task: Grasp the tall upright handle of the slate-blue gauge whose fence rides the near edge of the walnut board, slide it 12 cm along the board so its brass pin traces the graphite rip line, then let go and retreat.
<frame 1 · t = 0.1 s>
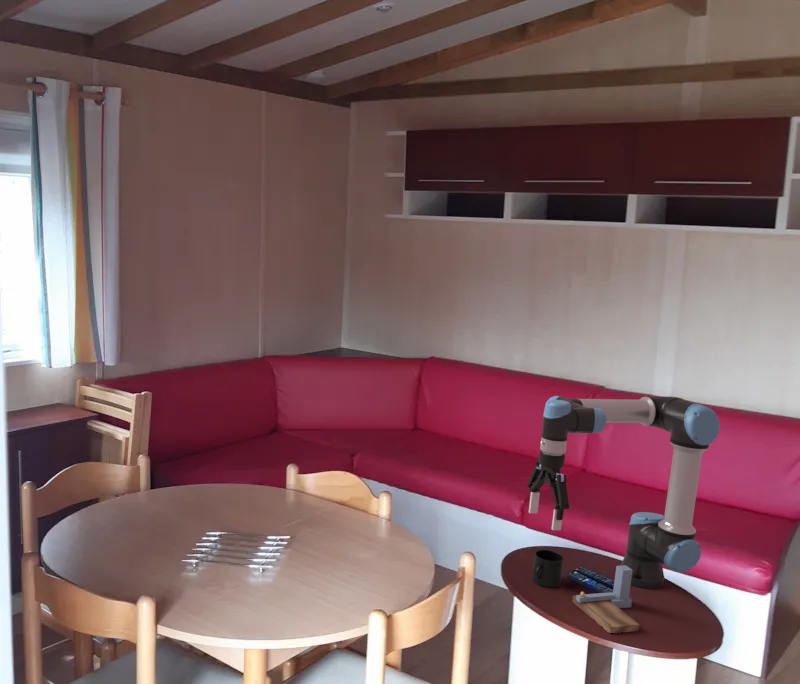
hand: (544, 521, 231), 28 cm above the table, fingers open, 13 cm apart
board: (604, 615, 235), on the table
mug: (544, 583, 255), on the table
gauge: (604, 587, 241), point 6 cm above the table, slide at 0.0 cm
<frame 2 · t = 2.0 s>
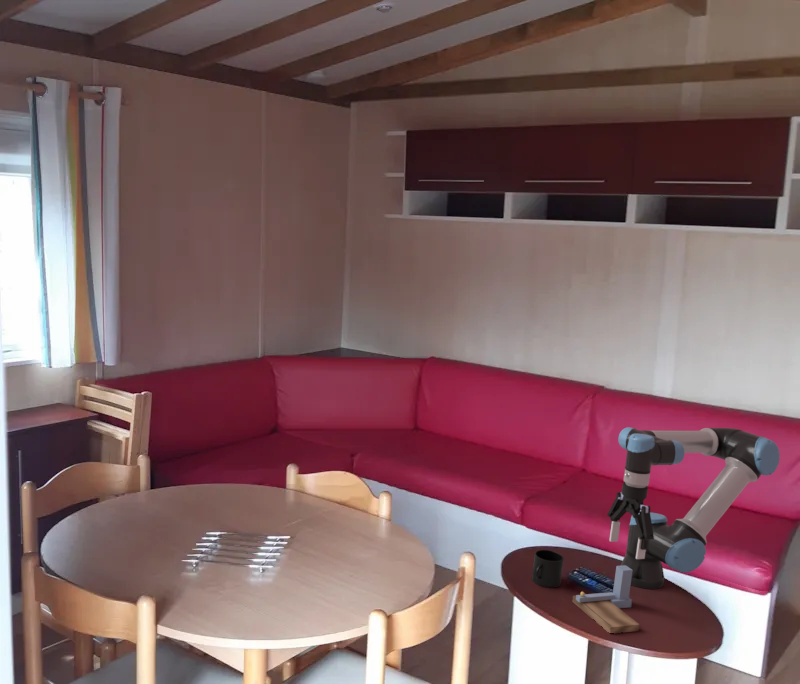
hand: (626, 549, 241), 18 cm above the table, fingers open, 13 cm apart
nothing on the table moved.
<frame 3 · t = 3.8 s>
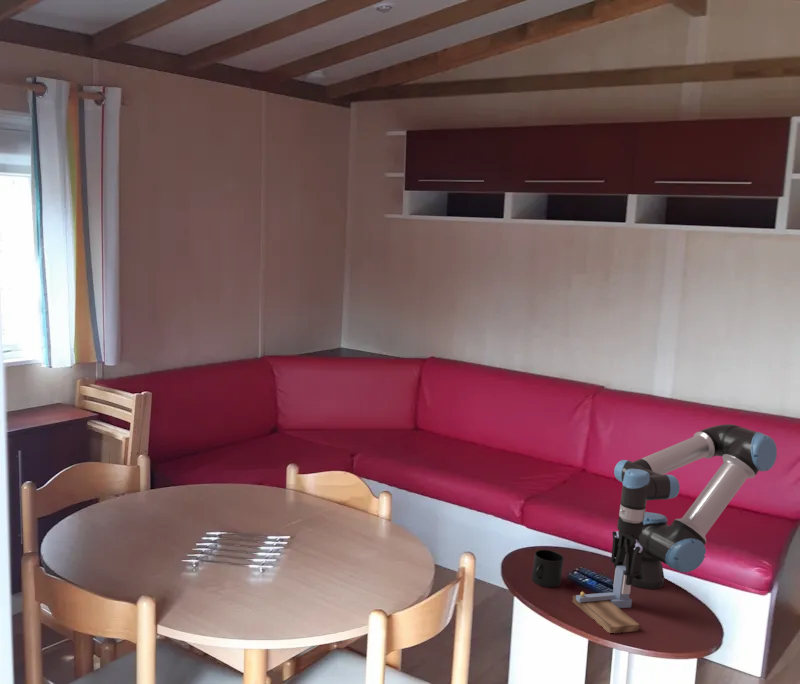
hand: (621, 590, 243), 5 cm above the table, fingers closed on gauge, 3 cm apart
gauge: (604, 587, 241), point 6 cm above the table, slide at 0.0 cm, touching gripper
everything else where it was.
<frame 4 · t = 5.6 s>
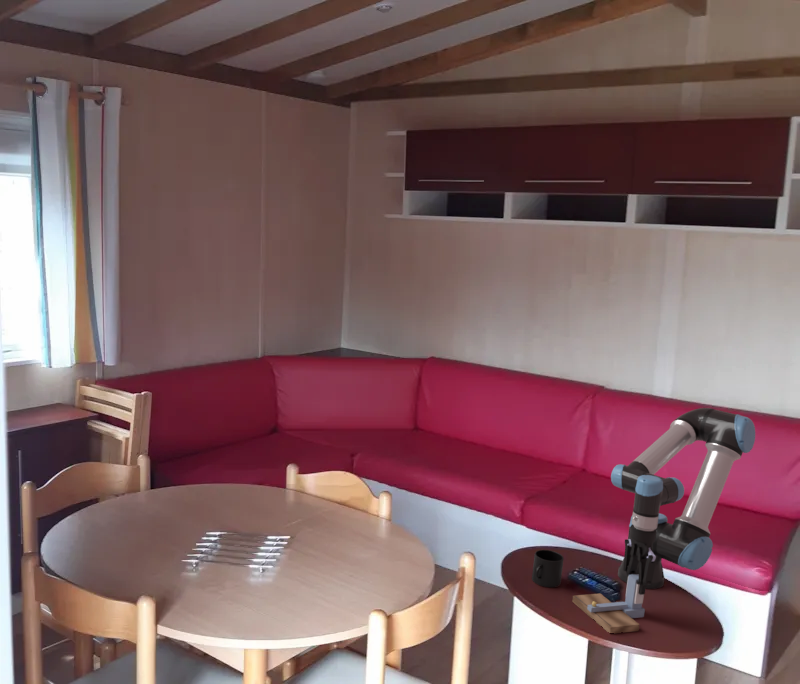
hand: (633, 599, 237), 5 cm above the table, fingers closed on gauge, 4 cm apart
gauge: (616, 596, 235), point 6 cm above the table, slide at 6.4 cm, touching gripper
everything else where it was.
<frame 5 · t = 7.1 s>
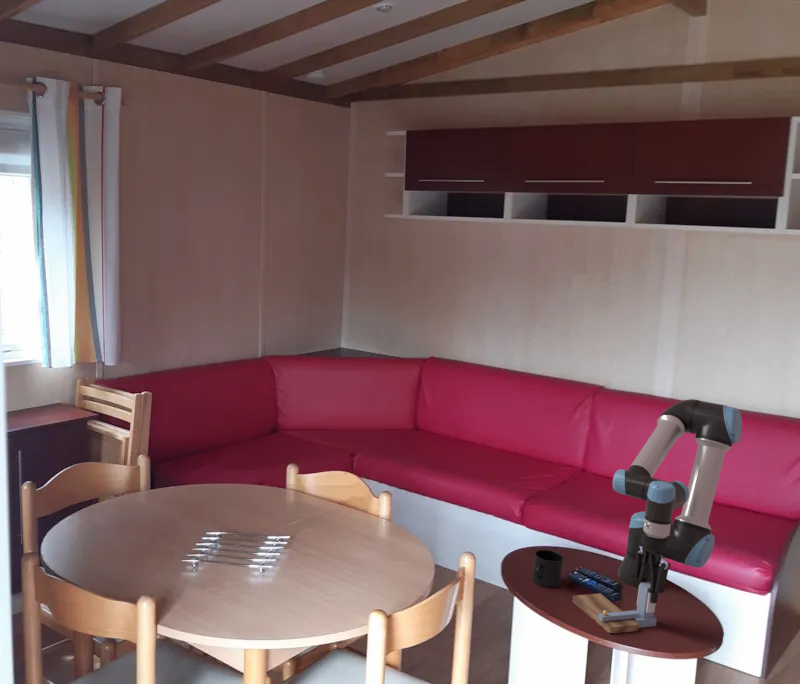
hand: (645, 608, 232), 5 cm above the table, fingers closed on gauge, 3 cm apart
gauge: (627, 605, 230), point 6 cm above the table, slide at 12.0 cm, touching gripper
everything else where it was.
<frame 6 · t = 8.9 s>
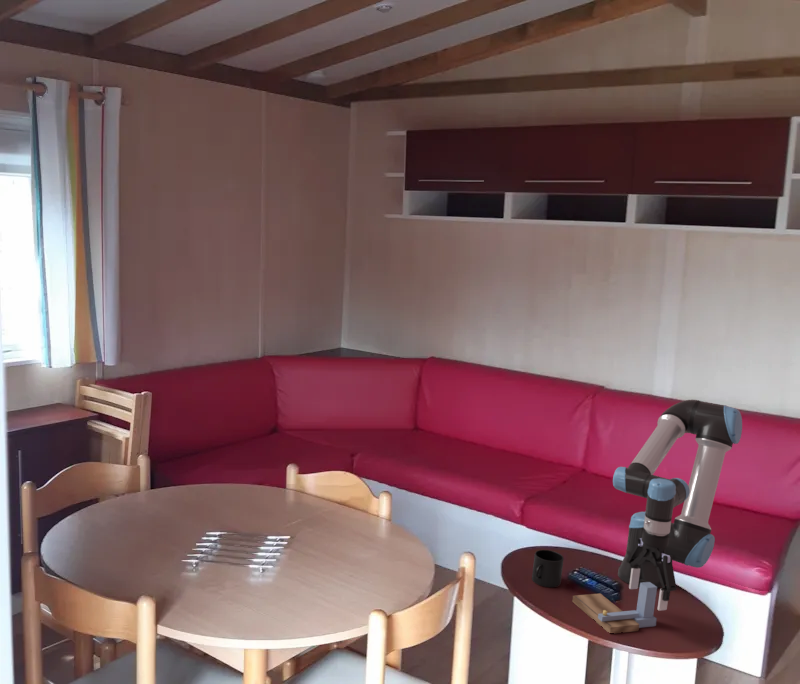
hand: (647, 598, 232), 7 cm above the table, fingers open, 13 cm apart
gauge: (627, 605, 230), point 6 cm above the table, slide at 11.9 cm
everything else where it was.
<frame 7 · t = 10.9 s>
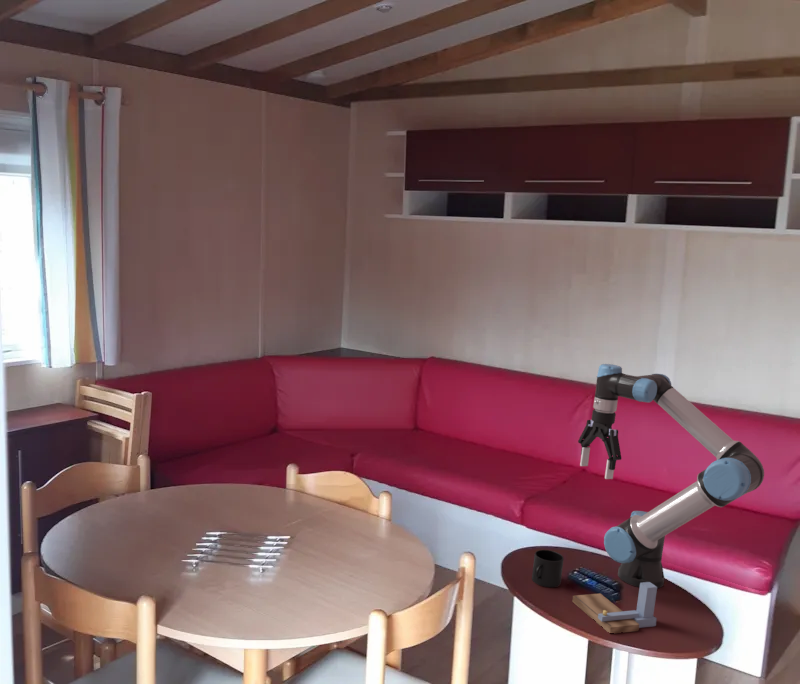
hand: (595, 472, 260), 36 cm above the table, fingers open, 13 cm apart
nothing on the table moved.
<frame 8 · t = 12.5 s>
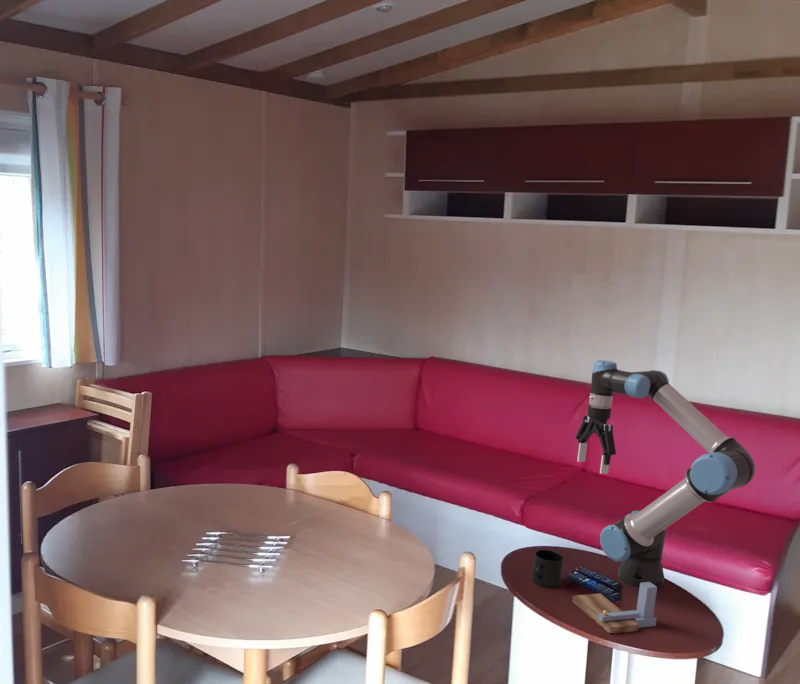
hand: (592, 467, 263), 37 cm above the table, fingers open, 13 cm apart
nothing on the table moved.
at the end: gauge slide at 11.9 cm; the gripper is holding nothing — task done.
